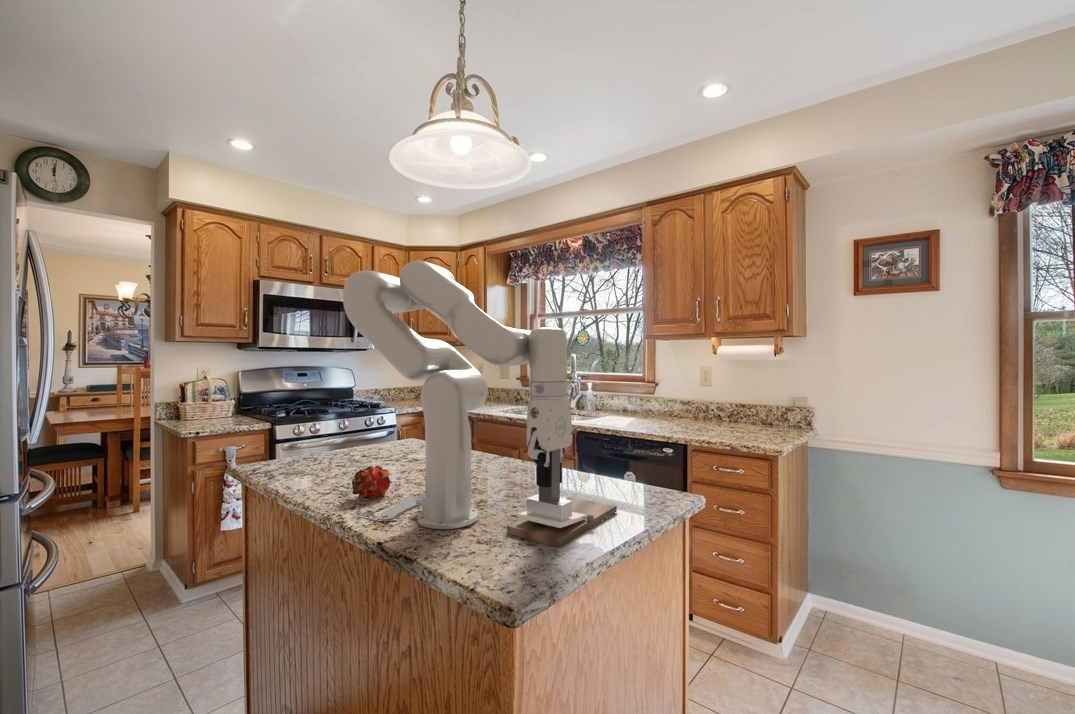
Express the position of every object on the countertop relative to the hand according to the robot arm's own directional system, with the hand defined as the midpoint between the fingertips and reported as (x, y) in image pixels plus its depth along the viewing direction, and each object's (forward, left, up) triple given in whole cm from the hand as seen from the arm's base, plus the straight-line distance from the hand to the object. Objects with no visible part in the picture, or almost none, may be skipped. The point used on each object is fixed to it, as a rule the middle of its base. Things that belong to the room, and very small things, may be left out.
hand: (549, 483), depth 94 cm
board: (0, +7, -10) cm, 12 cm away
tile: (0, +2, -7) cm, 7 cm away
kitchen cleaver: (-36, -4, -10) cm, 38 cm away
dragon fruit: (-48, -5, -10) cm, 50 cm away
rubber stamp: (0, 0, -6) cm, 6 cm away
